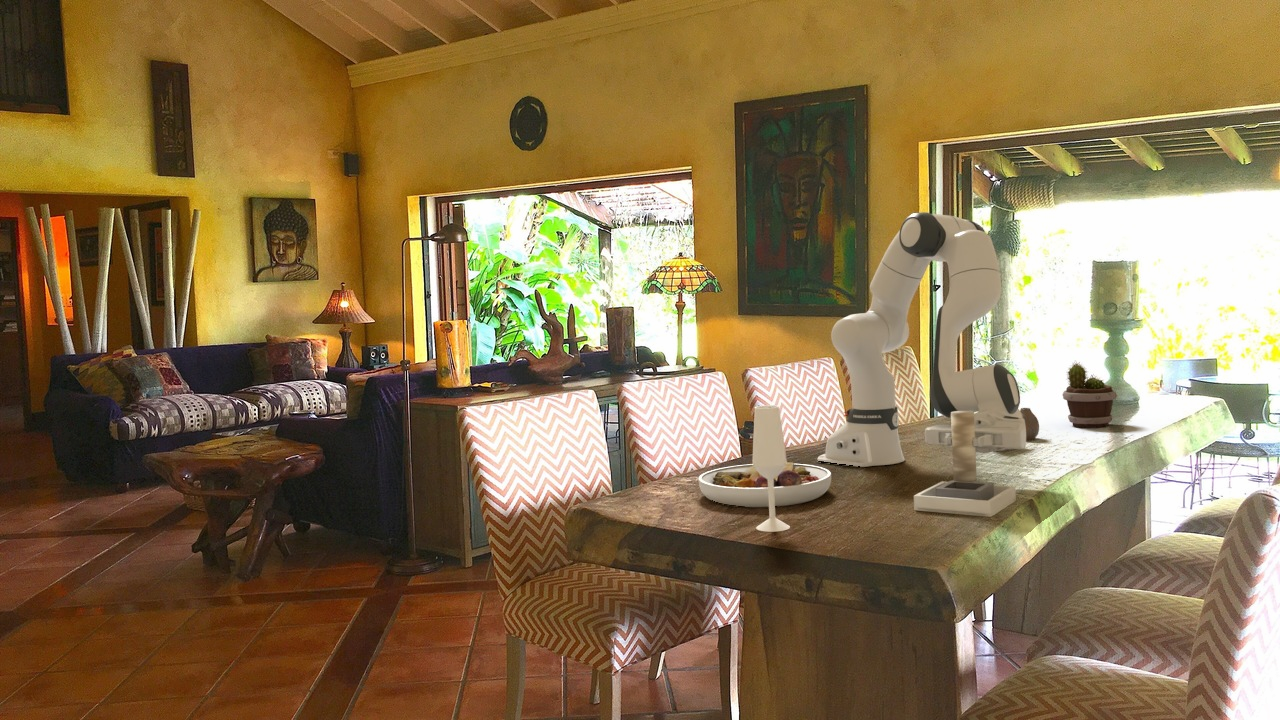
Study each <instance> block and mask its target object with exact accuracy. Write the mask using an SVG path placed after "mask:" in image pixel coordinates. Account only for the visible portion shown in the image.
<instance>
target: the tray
mask: <svg viewBox="0 0 1280 720" xmlns="http://www.w3.org/2000/svg"><path fill="white" fill-rule="evenodd" d="M1016 494H1017V493H1016V486H1013V485H1012V486H1011V485H998V484H994V482H982V481H981V482H980V481H979V482H978V481H973V482H958V481H954V479H952V480H949V481H943V480H942V481H940V482H938V483H935V484H934V485H932V486H930V487H928V488H926V489H924V490H922V491H920V492H918V493H916V494H914V495H913V507H914V508H913V510H914V511H921V512H933V513H942V514H944V513H945V514H955V515H965V516H978V517H987V518H988V517H989V518H991V517H993V516H995V515H997V514H998V513H999V512H1000V511H1003V510H1004V509H1006V508H1007V507H1008V506H1010V505H1012V504H1013V503H1015V502H1016V501H1017V495H1016Z"/></svg>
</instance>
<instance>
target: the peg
mask: <svg viewBox="0 0 1280 720" xmlns="http://www.w3.org/2000/svg"><path fill="white" fill-rule="evenodd" d="M974 414H975V412H973V411H954V412H951V418H950V421H951V422H950V424H951V429H952V446H951V447H952V449H951V450H952V471H953V474H952V475H953V480H954V481H958V482H977V480H978V477H977V458H976V456H977V455H976V453H977V452H976V451H975V446H973V443H974V442H973V438H975V428H974Z"/></svg>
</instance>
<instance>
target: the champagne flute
mask: <svg viewBox="0 0 1280 720" xmlns="http://www.w3.org/2000/svg"><path fill="white" fill-rule="evenodd" d="M753 413H754V414H753V415H754V418H753V439H752V463H751V464H753V466H754V467H755V469H756V470H757V471H758V472H759V473H760V474H761V475H762V476H763V477H765V478H766V479H768V498H769V507H768V511H769V512H768V514H769V517H768V518H767V519H766V520H765V521H763V522H762V523H760V524H759V525H758V526H756V527H755V529H756V530H758V531H760V532H771V533H772V532H773V533H774V532H783V531H786V530H789V529H791V526H790V525H788V524H787V523H785V522H783V521H782V520H780V519H778V518H777V517H776V507H775V498H774V478H776V477H777V476H778V475H779V474H780V473H781V472H782V471H783V469H784V468H785V466H786V464H787V462H788V461H787V452H786V447H785V446H786V445H785V441H784V440H785V439H784V431H783V426H782V420H781V412H780V406H779V405H777V404H775V405H772V404H771V405H758V406H754V412H753Z"/></svg>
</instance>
